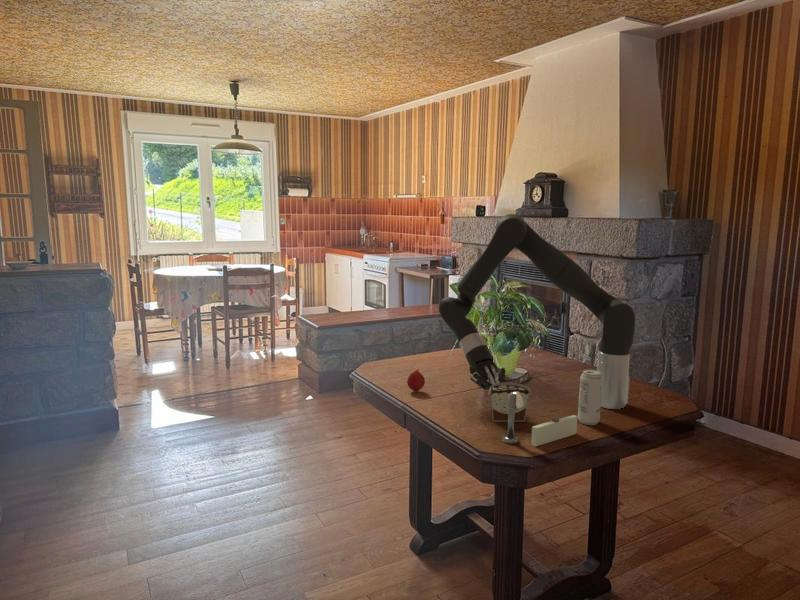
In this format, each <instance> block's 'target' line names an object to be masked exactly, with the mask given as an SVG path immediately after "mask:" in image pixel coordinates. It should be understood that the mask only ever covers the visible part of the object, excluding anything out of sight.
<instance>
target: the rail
mask: <svg viewBox="0 0 800 600" xmlns="http://www.w3.org/2000/svg"><path fill="white" fill-rule="evenodd" d="M577 429H578V415H575V414H572V415H571V414H570V415H569V416H568V415H567V416H564V417H561V418H558V417H556V416H554V417H552V418H551V421H547V422H543V423H540V424H537V425H533V426H531V438H530V439H531V442H530V445H531V446H533V447H534V448H536V447H539V446H541V445H545V444H548V443H551V442H554V441H558V440H561V439H565V438H568V437H570V436H574V435H577V432H578V430H577Z"/></svg>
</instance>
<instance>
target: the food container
mask: <svg viewBox="0 0 800 600" xmlns="http://www.w3.org/2000/svg"><path fill="white" fill-rule="evenodd" d="M517 391H518V392H520V393H521V394H522V395H523V397H524V406H523V407H522V408H519V409H515V416H514V423H515V422H526V416H527V410H528V405H529V404H528V403H529V397H530V396H532V393H531V392H532V390H531V387H528V385H525V384H522V383H517V382H505V381H504V383H495V384H493V385H492V386H491V388H490V389H488V396H490V403H491V404H490V405H491V415H492V416H491V417H492V419H491V420H492V422H499V423H500V422H504V423H505V422H507V423H508V411H509V402H508V396H509V393H512V392H517Z"/></svg>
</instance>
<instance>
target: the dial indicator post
mask: <svg viewBox="0 0 800 600" xmlns="http://www.w3.org/2000/svg"><path fill="white" fill-rule="evenodd" d="M508 402H509V411H508V422H507V434H504V435H502V442H503V443H504V442H505V443H504V444H506V445H507V444H508V445H516V444H518V443H519V437H518V436H517V435H515V433H514V432H515V422H514V416H515V409H519V408H522V407H523V406H524V397H523V395H522V394H521V393H520V392H518V391H517V392H512V393H509V396H508Z"/></svg>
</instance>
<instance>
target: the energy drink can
mask: <svg viewBox="0 0 800 600" xmlns="http://www.w3.org/2000/svg"><path fill="white" fill-rule="evenodd" d="M600 374H601V373H600V372H599V371H597V369H596V370H594V369H584V370H582V373H581V375H580V377H579V394H578V409H577V416H578V418H577V420H579V422H580V423H581V424H583V425H586V426H595V425H598V423H599V422H600V419H601V408H602V407H601V394H602V380H603V379H602V377H601V375H600Z"/></svg>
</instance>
